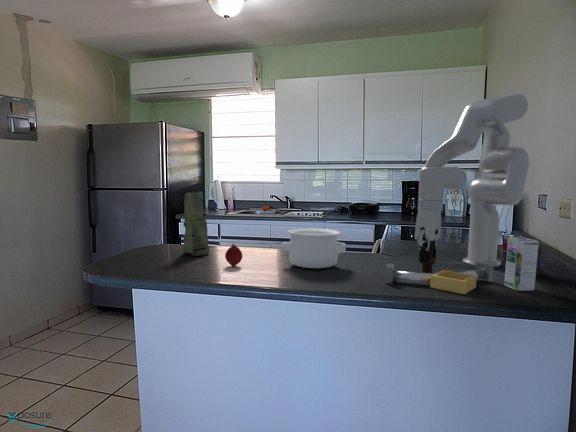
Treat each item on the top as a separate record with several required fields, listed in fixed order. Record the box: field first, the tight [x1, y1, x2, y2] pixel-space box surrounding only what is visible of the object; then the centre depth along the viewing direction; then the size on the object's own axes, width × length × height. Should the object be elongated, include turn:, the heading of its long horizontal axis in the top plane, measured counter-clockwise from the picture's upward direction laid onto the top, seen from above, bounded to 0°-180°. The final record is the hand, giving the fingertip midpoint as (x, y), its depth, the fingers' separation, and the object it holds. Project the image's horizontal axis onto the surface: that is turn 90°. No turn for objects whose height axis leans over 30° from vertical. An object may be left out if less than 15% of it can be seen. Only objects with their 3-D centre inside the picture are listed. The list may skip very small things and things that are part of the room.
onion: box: [224, 242, 243, 267], centre depth 135 cm, size 6×6×8 cm
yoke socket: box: [429, 269, 477, 295], centre depth 113 cm, size 10×10×4 cm
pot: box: [281, 227, 347, 269], centre depth 137 cm, size 22×17×12 cm
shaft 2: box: [459, 262, 495, 283], centre depth 119 cm, size 12×5×5 cm, turn 118°
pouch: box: [182, 190, 210, 257], centre depth 155 cm, size 11×12×25 cm
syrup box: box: [503, 236, 540, 292], centre depth 113 cm, size 6×6×14 cm
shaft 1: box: [385, 263, 434, 285], centre depth 117 cm, size 14×5×5 cm, turn 73°
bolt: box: [420, 229, 438, 274], centre depth 128 cm, size 6×5×15 cm
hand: (427, 260), depth 128 cm, fingers closed on bolt, 4 cm apart
